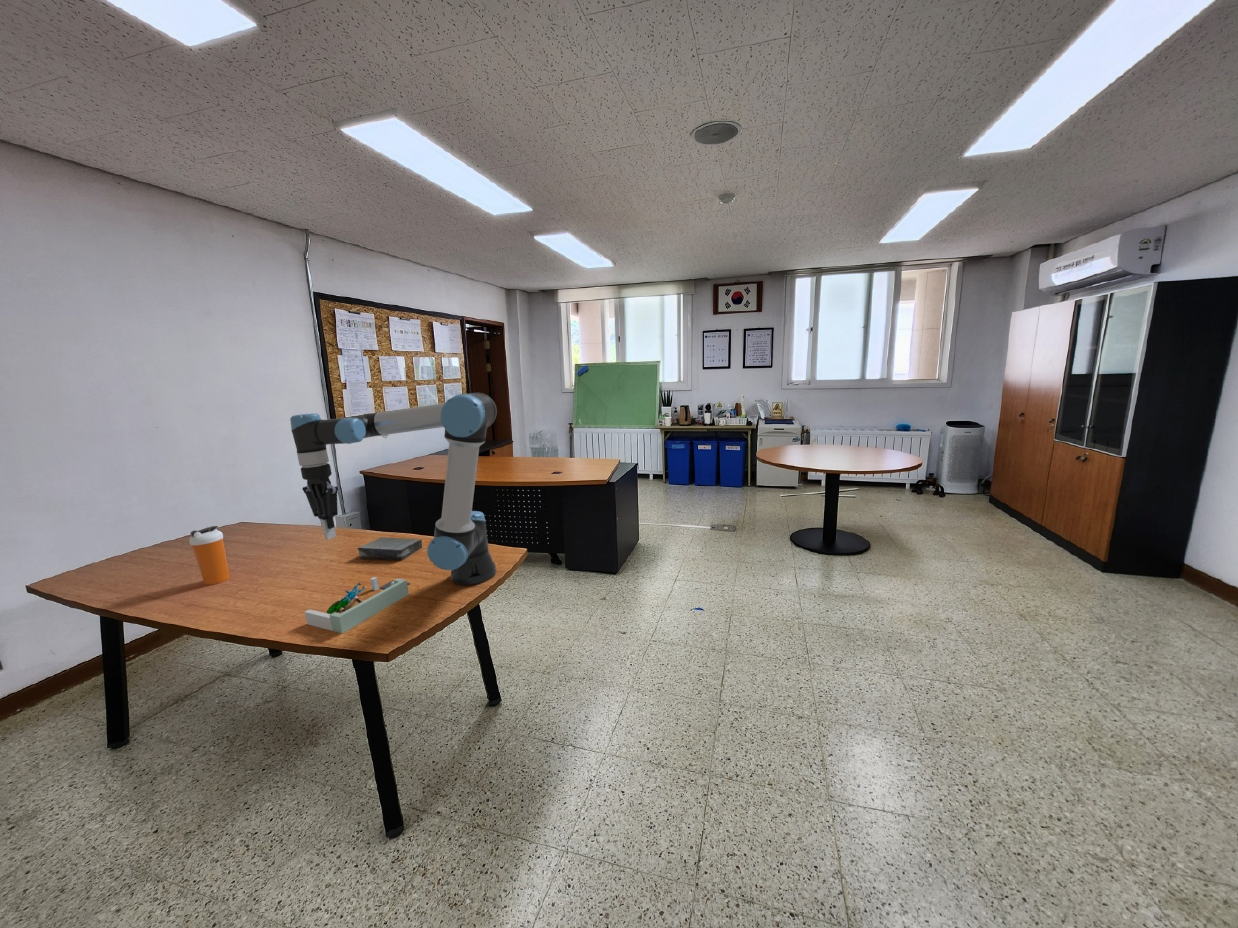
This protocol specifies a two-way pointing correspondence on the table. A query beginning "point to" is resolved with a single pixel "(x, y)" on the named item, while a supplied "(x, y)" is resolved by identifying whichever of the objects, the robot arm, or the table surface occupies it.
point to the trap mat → (389, 585)
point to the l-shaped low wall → (324, 619)
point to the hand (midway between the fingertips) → (330, 537)
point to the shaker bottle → (210, 555)
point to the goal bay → (369, 607)
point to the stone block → (389, 549)
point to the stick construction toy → (345, 600)
